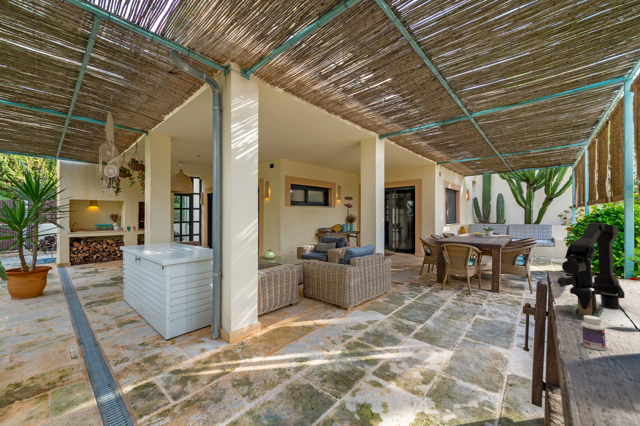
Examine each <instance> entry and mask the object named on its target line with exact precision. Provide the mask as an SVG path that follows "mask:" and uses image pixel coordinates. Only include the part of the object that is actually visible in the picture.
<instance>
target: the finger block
mask: <svg viewBox="0 0 640 426" xmlns="http://www.w3.org/2000/svg"><path fill="white" fill-rule="evenodd" d="M577 304H578V310H579V315H578V316H580V315H583V316H582V317H584V316H585V315H589V316H593V311H592V298H591V300H590V303H589V305H588V307H587V309H586V310H585V309H583V308H582V306H581V303H580V301H579V298H578V297H577Z"/></svg>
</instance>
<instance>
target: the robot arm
mask: <svg viewBox="0 0 640 426" xmlns="http://www.w3.org/2000/svg"><path fill="white" fill-rule="evenodd" d="M618 235H619V228H618V227H617V226H615V225H614V224H607V223H604V222H589V223H587V227H586V229H585V230H584V232H583V233H582V234H581V236H580V238H578V239H576V240H573V241H572V242H571V243H570V244H569V245H568V247H567V250H566V254H565V257H564V258H565V259H566V261H563V263H562V264H561V269H562V270H563V272H565V273H566V274H569V275H571V276H567V277H565V276H562V277H561V276H560V277H558V279H556V281H557V284H558V286H559V287H560V288H561V287H563V288H564V287H566V286H572V287H571V288H570V289H569V293H570V294H571V295H574V296H575V297H577V299H578V298H579V301H580V303H581V306H582V308H583V309H585V310H586V309H587V307H588V305H589V303H590V300H591V298H593V296H594V294H595V292H596V296H597V295H599V296H600V301H601V302H600V303H601V305H600V306H603V309H608V310H609V309H610V310H620V300H619V299H626V298H625V296H626V295H625V293H626V292H625V291H624V289H623V288H622V286H621V285H620V281H619V279H618V278H617V277H616V276H615V275H614V255H613V254H614V252H613V244H614V243H615V242H616V240H617V239H618ZM595 243H597V249H598V250H597V253H598V254H597V255H598V257H597V258H598V273H597V275H596V276H594V274H593V271H592V261H593V257H594V255H595V252H596V249H595V246H594V244H595ZM593 277H594V278H593ZM592 289H593V290H592Z"/></svg>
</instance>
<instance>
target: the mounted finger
mask: <svg viewBox="0 0 640 426" xmlns="http://www.w3.org/2000/svg"><path fill="white" fill-rule="evenodd" d="M597 305H598V304H597V295H596V292H595V294H594V296H593V298H592V311H596V309H597V308H598V306H597Z"/></svg>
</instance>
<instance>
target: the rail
mask: <svg viewBox="0 0 640 426" xmlns="http://www.w3.org/2000/svg"><path fill="white" fill-rule="evenodd" d="M571 310H572V311H571V313H572V315H575V316H580V317H581V316H582V317H584V316H583V315H579V310H578V303H577V304H576V305H575V306H574V307H573V308H571ZM603 312H604V307H603V306H601V305H598V306H597V309H596V311H593V316H595V317H599V318H600V317H601V316H602V313H603Z"/></svg>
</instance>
